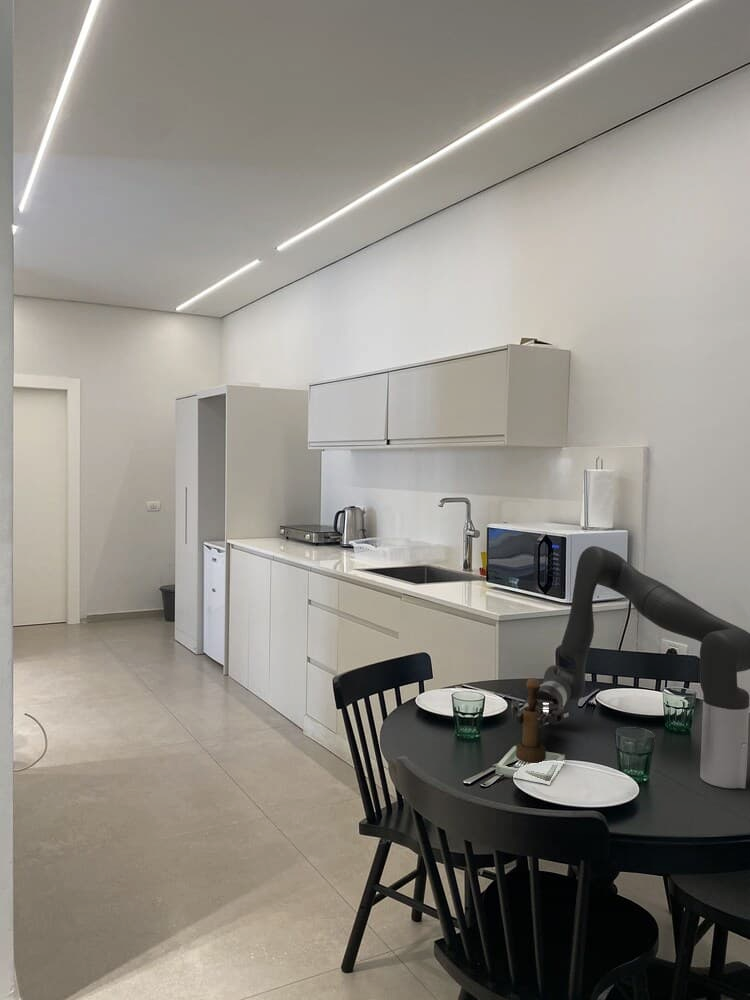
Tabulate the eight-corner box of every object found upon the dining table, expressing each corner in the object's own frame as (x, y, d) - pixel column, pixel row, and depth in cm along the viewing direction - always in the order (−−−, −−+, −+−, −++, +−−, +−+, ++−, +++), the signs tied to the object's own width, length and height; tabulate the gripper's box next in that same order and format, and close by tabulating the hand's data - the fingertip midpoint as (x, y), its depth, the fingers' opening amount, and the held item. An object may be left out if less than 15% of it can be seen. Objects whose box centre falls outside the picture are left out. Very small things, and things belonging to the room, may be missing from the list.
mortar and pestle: (510, 757, 182) (512, 678, 180) (525, 749, 187) (528, 672, 185) (535, 765, 177) (538, 685, 176) (551, 757, 182) (553, 679, 181)
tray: (564, 763, 185) (564, 754, 185) (549, 785, 173) (549, 776, 173) (513, 754, 191) (514, 745, 191) (495, 774, 178) (495, 765, 178)
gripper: (519, 680, 197) (497, 700, 182) (578, 689, 191) (561, 710, 175) (518, 710, 197) (497, 733, 182) (577, 720, 191) (559, 744, 176)
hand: (528, 721), depth 179 cm, fingers closed on mortar and pestle, 4 cm apart
